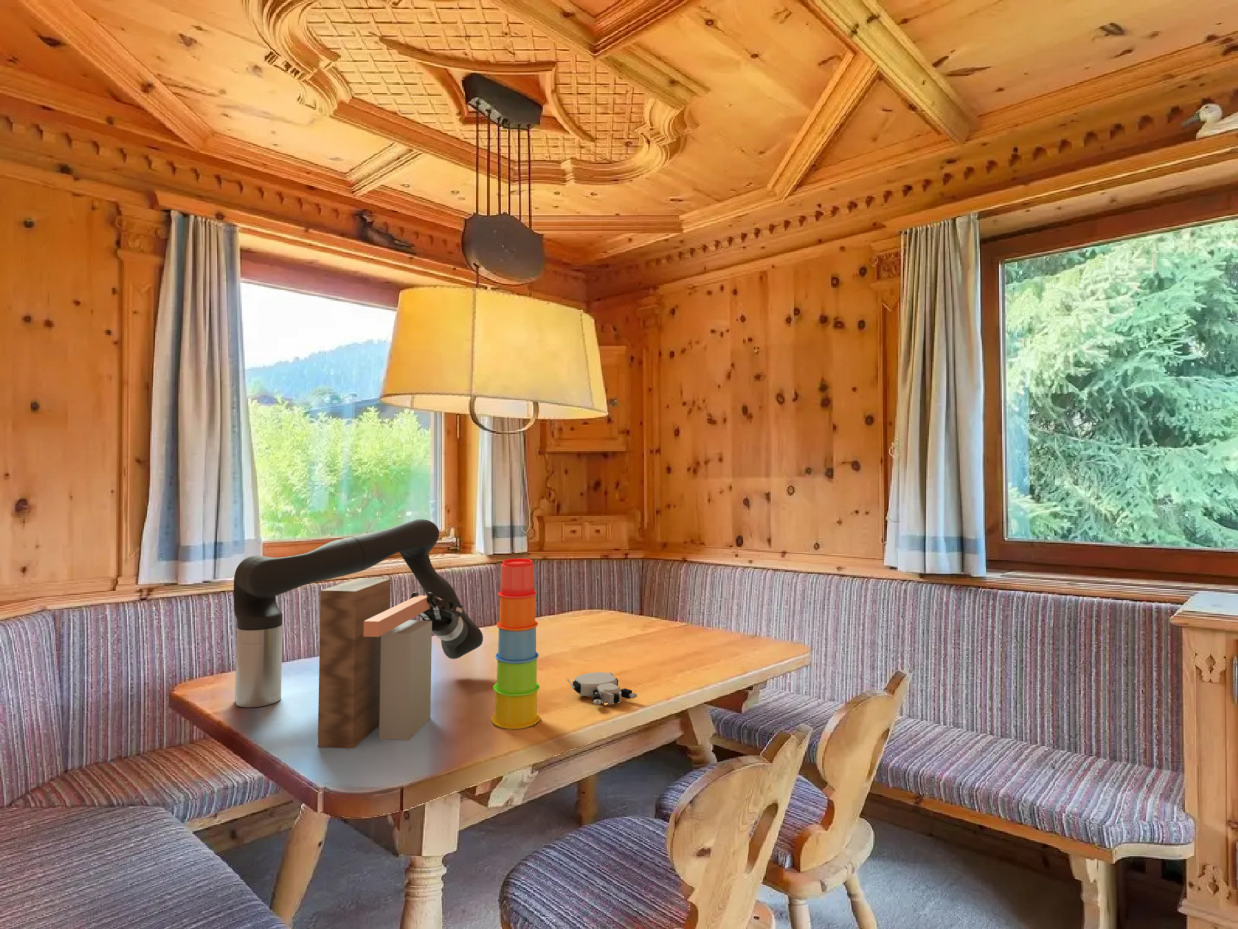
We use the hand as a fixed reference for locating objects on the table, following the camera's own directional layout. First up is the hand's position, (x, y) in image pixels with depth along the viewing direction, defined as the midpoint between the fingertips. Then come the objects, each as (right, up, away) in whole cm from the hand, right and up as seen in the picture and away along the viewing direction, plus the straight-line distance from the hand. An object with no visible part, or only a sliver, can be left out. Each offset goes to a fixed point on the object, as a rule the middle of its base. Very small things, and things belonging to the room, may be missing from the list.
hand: (421, 596), depth 147 cm
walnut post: (-11, -26, -10) cm, 30 cm away
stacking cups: (+21, -26, -3) cm, 34 cm away
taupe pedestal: (-1, -26, -8) cm, 27 cm away
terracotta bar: (-1, -3, -12) cm, 12 cm away
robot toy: (+39, -27, +12) cm, 49 cm away
